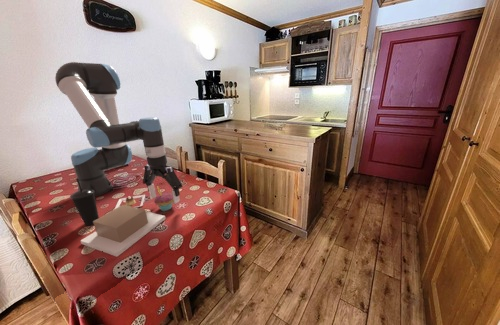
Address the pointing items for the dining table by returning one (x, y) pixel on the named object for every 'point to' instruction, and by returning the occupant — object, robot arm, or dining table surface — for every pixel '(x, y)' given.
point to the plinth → (125, 243)
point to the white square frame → (130, 201)
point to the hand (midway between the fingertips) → (165, 199)
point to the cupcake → (164, 200)
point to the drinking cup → (85, 204)
